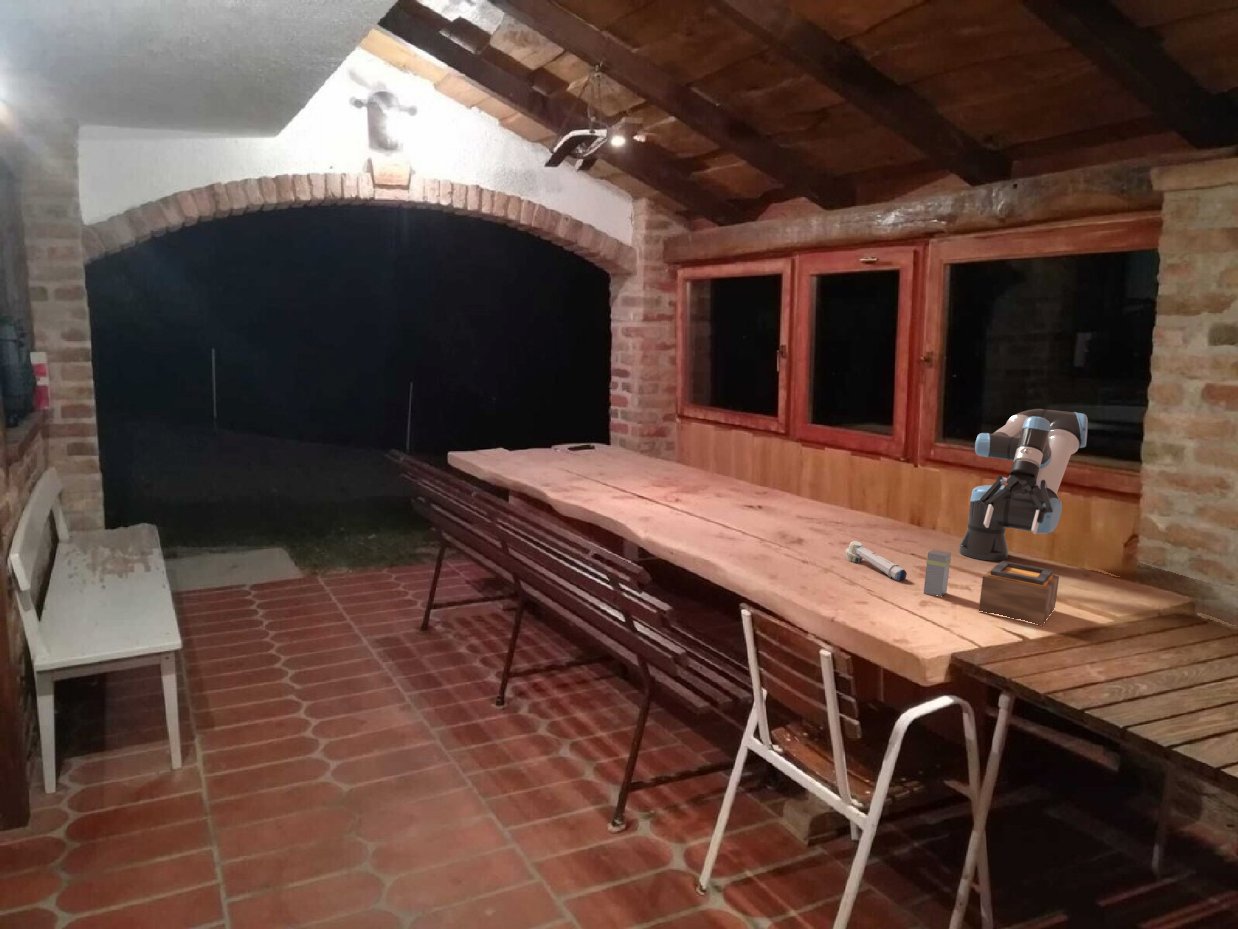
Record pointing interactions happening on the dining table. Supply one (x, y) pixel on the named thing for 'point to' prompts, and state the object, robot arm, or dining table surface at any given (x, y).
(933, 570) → the steel column
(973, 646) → the dining table surface
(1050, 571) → the walnut stand
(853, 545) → the white plastic rod
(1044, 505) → the robot arm
